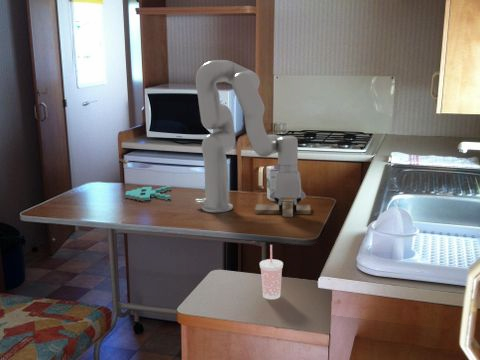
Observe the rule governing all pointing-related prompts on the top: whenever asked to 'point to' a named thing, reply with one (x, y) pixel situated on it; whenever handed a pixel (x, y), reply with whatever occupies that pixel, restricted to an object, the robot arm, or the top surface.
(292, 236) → the top surface
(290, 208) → the wooden mallet
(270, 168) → the syrup box
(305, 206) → the board
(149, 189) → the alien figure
